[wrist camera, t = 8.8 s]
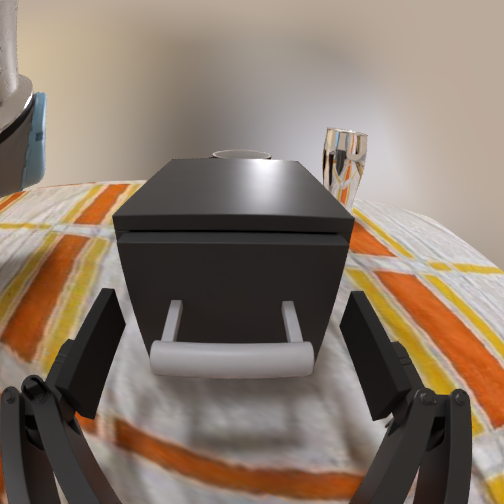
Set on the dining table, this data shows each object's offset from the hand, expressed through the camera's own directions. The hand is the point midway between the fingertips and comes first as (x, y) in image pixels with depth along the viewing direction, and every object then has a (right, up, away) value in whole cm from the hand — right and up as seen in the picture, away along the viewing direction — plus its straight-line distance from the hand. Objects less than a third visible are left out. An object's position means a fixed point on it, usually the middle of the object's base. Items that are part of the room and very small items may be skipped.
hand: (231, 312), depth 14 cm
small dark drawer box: (-1, -2, +11) cm, 11 cm away
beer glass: (+15, +9, +31) cm, 35 cm away
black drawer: (0, -3, +7) cm, 8 cm away
